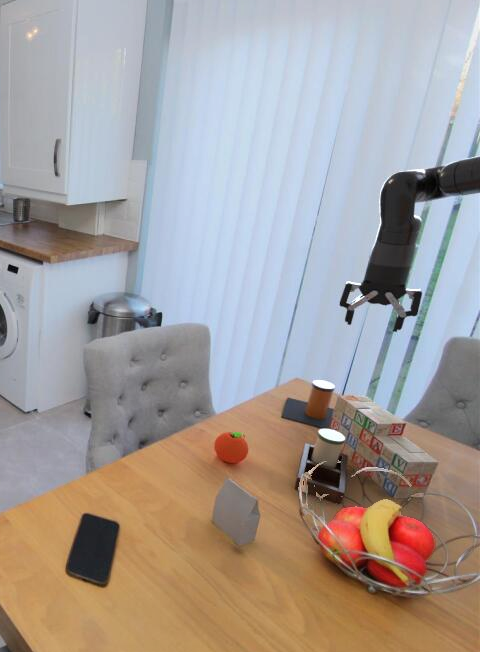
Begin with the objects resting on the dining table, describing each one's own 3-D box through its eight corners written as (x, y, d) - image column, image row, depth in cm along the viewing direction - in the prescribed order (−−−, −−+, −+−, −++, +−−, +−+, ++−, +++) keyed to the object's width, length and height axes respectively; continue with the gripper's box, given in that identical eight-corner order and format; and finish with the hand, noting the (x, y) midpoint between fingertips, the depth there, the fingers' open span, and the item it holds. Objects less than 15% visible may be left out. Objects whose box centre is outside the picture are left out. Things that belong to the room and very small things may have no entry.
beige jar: (335, 467, 108) (345, 433, 104) (333, 478, 104) (344, 444, 101) (309, 459, 110) (319, 426, 107) (307, 470, 107) (317, 436, 104)
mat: (349, 414, 127) (349, 412, 127) (347, 436, 118) (347, 434, 118) (287, 399, 135) (287, 397, 135) (280, 418, 127) (281, 416, 126)
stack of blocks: (424, 499, 98) (445, 449, 94) (392, 499, 98) (411, 449, 94) (351, 437, 118) (365, 393, 113) (324, 437, 118) (337, 394, 114)
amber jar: (327, 413, 127) (335, 383, 124) (325, 421, 123) (334, 390, 120) (305, 407, 130) (313, 378, 126) (303, 415, 126) (311, 385, 123)
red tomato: (227, 446, 116) (232, 421, 114) (255, 461, 111) (261, 436, 108) (205, 456, 113) (210, 431, 110) (232, 473, 107) (238, 447, 105)
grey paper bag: (239, 546, 89) (249, 503, 85) (211, 520, 95) (219, 479, 91) (254, 540, 90) (265, 498, 86) (225, 515, 96) (234, 475, 92)
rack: (344, 467, 108) (347, 455, 107) (340, 506, 97) (344, 493, 96) (301, 454, 113) (305, 442, 111) (293, 490, 102) (297, 477, 101)
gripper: (350, 261, 111) (334, 326, 117) (433, 268, 103) (411, 338, 108) (351, 254, 116) (335, 317, 122) (430, 261, 108) (409, 328, 114)
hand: (371, 327), depth 115 cm, fingers open, 8 cm apart
